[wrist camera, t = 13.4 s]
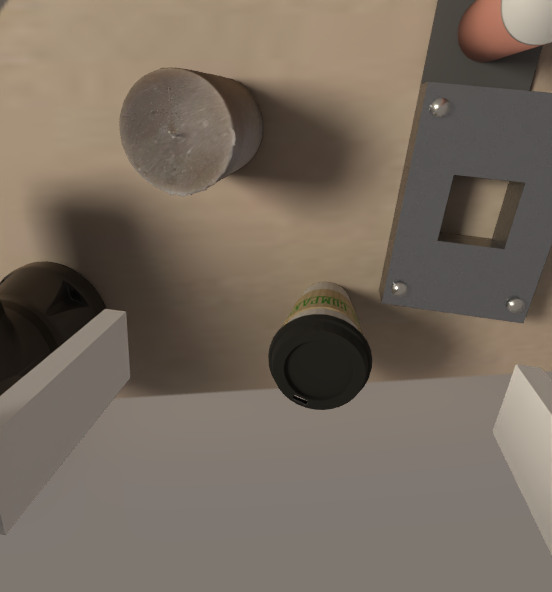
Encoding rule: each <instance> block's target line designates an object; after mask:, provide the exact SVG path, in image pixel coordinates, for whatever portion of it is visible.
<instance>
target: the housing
mask: <svg viewBox="0 0 552 592" xmlns="http://www.w3.org/2000/svg"><path fill="white" fill-rule="evenodd" d="M454 175H461V176H470V177H479V178H488V179H497V180H506V181H509V184H508V188H507V191H506V194H505V198H504V201H503V204H502V208H501V211H500V214H499V218H498V221H497V224H496V227H495V231H494V234H493V237H492V239H489V238H481V237H473V236H465V235H457V234H449V233H441V232H440V228H441V224H442V220H443V216H444V212H445V208H446V204H447V200H448V196H449V192H450V188H451V184H452V180H453V176H454ZM551 245H552V93H546V92H535V91H524V90H513V89H502V88H491V87H481V86H470V85H459V84H448V83H437V82H426V83H423V84H421V86H420V91H419V96H418V101H417V106H416V111H415V115H414V120H413V125H412V130H411V135H410V140H409V145H408V150H407V155H406V160H405V165H404V170H403V175H402V179H401V184H400V189H399V194H398V199H397V204H396V209H395V214H394V219H393V224H392V229H391V234H390V238H389V243H388V248H387V253H386V258H385V263H384V268H383V273H382V278H381V283H380V288H379V292H380V297H381V302H382V303H384V304H391V305H398V306H405V307H412V308H419V309H426V310H433V311H440V312H447V313H454V314H461V315H468V316H475V317H482V318H489V319H496V320H503V321H510V322H517V323H524V320H525V317H526V314H527V312H528V309H529V306H530V303H531V301H532V298H533V295H534V292H535V290H536V287H537V284H538V281H539V278H540V276H541V273H542V270H543V267H544V265H545V262H546V259H547V256H548V254H549V251H550V248H551Z"/></svg>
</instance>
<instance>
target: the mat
mask: <svg viewBox="0 0 552 592" xmlns="http://www.w3.org/2000/svg"><path fill="white" fill-rule="evenodd" d="M475 1H476V0H438V2H437V7H436V12H435V17H434V22H433V27H432V32H431V37H430V42H429V47H428V51H427V56H426V61H425V66H424V71H423V76H422V81H421V84H423V83H426V82H437V83H448V84H459V85H470V86H481V87H491V88H502V89H513V90H524V91H529V90H530V87H531V83H532V80H533V77H534V73H535V70H536V66H537V63H538V60H539V56H540V53H541V50H542V46H543V45H541V46H538V47H535V48H531V49H528V50H525V51H522V52H519V53H516V54H512V55H509V56H506V57H503V58H500V59H497V60H493V61H490V62H476V61H473V60H471V59H469V58H468V57H466V56H465V55H464V53H463V52H462V51H461V49H460V46H459V43H458V36H457V35H458V27H459V23H460V20H461V18H462V16H463V14H464V13H465V11H466V10H467V9H468V7H469V6H470V5H471V4H472V3H473V2H475Z"/></svg>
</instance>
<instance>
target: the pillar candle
mask: <svg viewBox="0 0 552 592" xmlns="http://www.w3.org/2000/svg"><path fill="white" fill-rule="evenodd" d="M120 135H121V141H122V145H123V148H124V151H125V153H126V155H127V157H128V159H129V161H130V163H131V164H132V166H133V167H134V168H135V169H136V171H137V172H138V173H139V174H140V175H141V176H142V177H143V178H144V179H145V180H146V181H148V182H149V183H150V184H152V185H153V186H155V187H157V188H159V189H161V190H163V191H165V192H167V193H168V194H170V195H175V194H177V195H179V196H186V195H188V194H190V195H192V194H193V193H197V192H200V191H204V190H207V188H208V187H210V186H212V185H214V184H215V183H216V182H218V181H220V180H221V179H223V178H225V177H226V176H228V175H230V174H232V173H233V172H235V171H236V170H238V169H240V168H242V167H243V166H245V165H246V164H247V163H248V162H249V161H250V160H251V159H252V158H253V157H254V155H255V154H256V152H257V150H258V148H259V146H260V143H261V140H262V135H263V119H262V115H261V111H260V109H259V106H258V104H257V103H256V101H255V99H254V97H253V96H252V93H251V92H250V91H249V90H248V89H247V88H246V87H245V86H243V85H242V84H240V83H239V82H237V81H235V80H233V79H228V78H225V77H221V76H217V75H212V74H207V73H203V72H198V71H193V70H187V69H181V68H161V69H159V70H156V71H153V72H151V73H149V74H147V75H145V76H144V77H142V78H141V79H140V80H138V81H137V82H136V83H135V84H134V85H133V87H132V88H131V90H130V91H129V93H128V95H127V97H126V98H125V100H124V103H123V107H122V110H121V114H120Z"/></svg>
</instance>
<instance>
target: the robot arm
mask: <svg viewBox="0 0 552 592" xmlns="http://www.w3.org/2000/svg"><path fill="white" fill-rule="evenodd" d="M129 379H130V363H129V348H128V332H127V317H126V311H118V310H111V309H106V308H105V305H104V303H103V301H102V299H101V297H100V296H99V294H98V293H97V291H96V290H95V289H94V288H93V286H92V285H91V284H90V283H89V282H88V281H87V280H86V279H85V278H83V277H82V276H81V275H79V274H78V273H76V272H75V271H73V270H71V269H69V268H67V267H65V266H62V265H59V264H56V263H51V262H34V263H30V264H27V265H25V266H23V267H20V268H18V269H16V270H14V271H12V272H11V273H9V274H8V275H7V276H6V277H4V278H3V279H2V281H1V282H0V534H2V535H6V534H7V532H8V531H9V530H10V529H11V528H12V526H13V525H14V524H15V522H16V521H17V520H18V519H19V518H20V516H21V515H22V514H23V512H24V511H25V510H26V508H27V507H28V506H29V505H30V504H31V502H32V501H33V500H34V499H35V497H36V496H37V495H38V494H39V492H40V491H41V490H42V489H43V487H44V486H45V485H46V484H47V482H48V481H49V480H50V478H51V477H52V476H53V475H54V473H55V472H56V471H57V470H58V468H59V467H60V466H61V465H62V463H63V462H64V461H65V460H66V458H67V457H68V456H69V455H70V453H71V452H72V451H73V449H74V448H75V447H76V446H77V444H78V443H79V442H80V441H81V439H82V438H83V437H84V436H85V434H86V433H87V432H88V430H89V429H90V428H91V427H92V426H93V424H94V423H95V422H96V421H97V419H98V418H99V417H100V415H101V414H102V413H103V412H104V410H105V409H106V408H107V407H108V405H109V404H110V403H111V402H112V400H113V399H114V398H115V397H116V395H117V394H118V393H119V392H120V390H121V389H122V388H123V386H124V385H125V384H126V383H127V381H128V380H129ZM493 434H494V436H495V439H496V441H497V443H498V445H499V447H500V449H501V451H502V453H503V455H504V457H505V459H506V461H507V464H508V466H509V468H510V470H511V472H512V474H513V476H514V478H515V480H516V482H517V484H518V486H519V489H520V491H521V492H522V495H523V497H524V499H525V501H526V503H527V505H528V507H529V509H530V512H531V513H532V515H533V518H534V520H535V522H536V524H537V526H538V528H539V530H540V532H541V534H542V537H543V539H544V541H545V543H546V544H547V547H548V549H549V551H550V553H551V555H552V381H551V380H550V378H549V377H548V376H547V375H546V373H545V372H544V371H543V369H542V368H540V367H533V366H525V365H518V364H516V366H515V369H514V372H513V375H512V378H511V380H510V384H509V386H508V389H507V392H506V395H505V397H504V400H503V403H502V406H501V409H500V412H499V414H498V417H497V420H496V423H495V426H494V429H493Z"/></svg>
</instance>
